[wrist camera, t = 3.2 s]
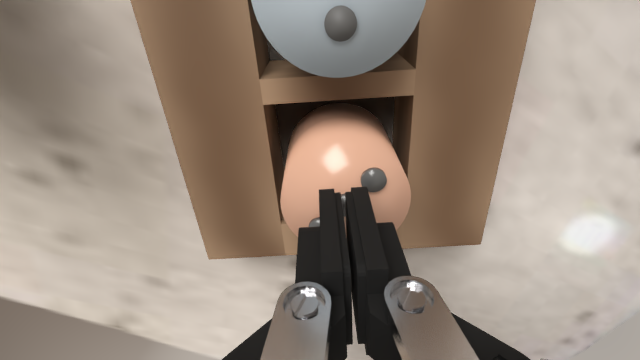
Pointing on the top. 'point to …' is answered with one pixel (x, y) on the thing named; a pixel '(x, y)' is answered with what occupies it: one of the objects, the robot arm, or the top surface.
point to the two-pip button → (337, 32)
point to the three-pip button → (342, 165)
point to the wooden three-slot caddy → (300, 86)
